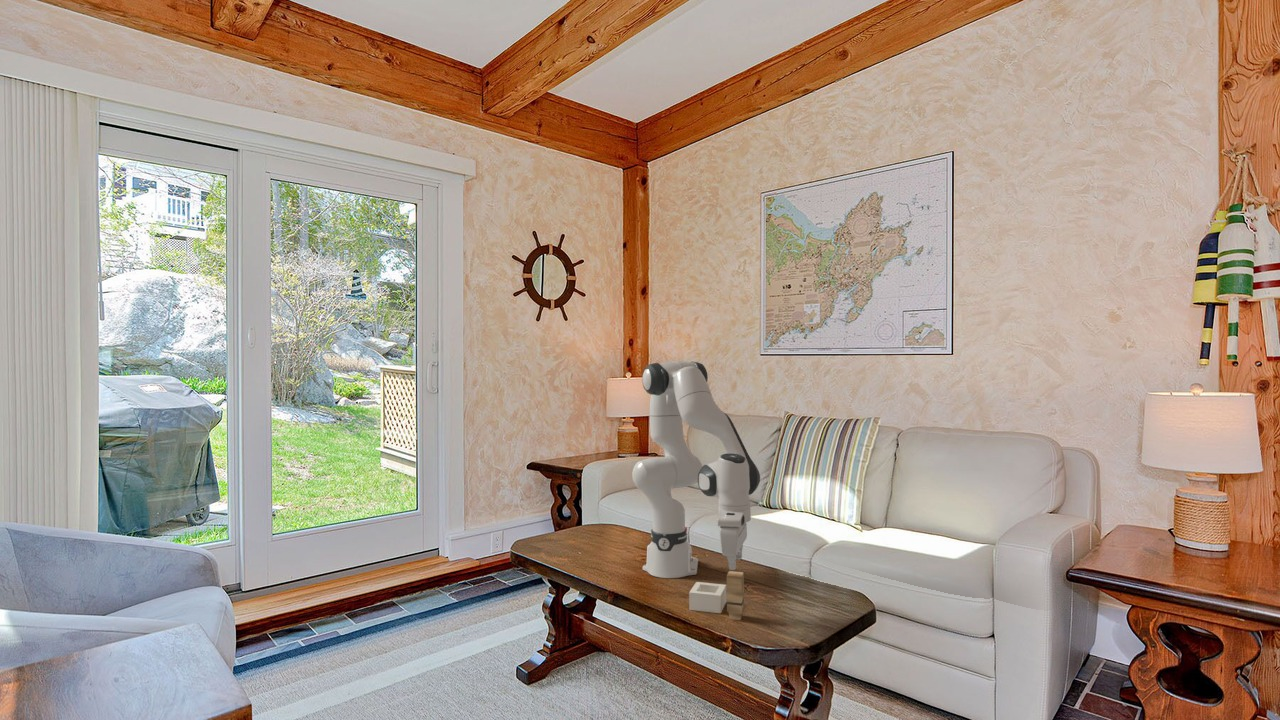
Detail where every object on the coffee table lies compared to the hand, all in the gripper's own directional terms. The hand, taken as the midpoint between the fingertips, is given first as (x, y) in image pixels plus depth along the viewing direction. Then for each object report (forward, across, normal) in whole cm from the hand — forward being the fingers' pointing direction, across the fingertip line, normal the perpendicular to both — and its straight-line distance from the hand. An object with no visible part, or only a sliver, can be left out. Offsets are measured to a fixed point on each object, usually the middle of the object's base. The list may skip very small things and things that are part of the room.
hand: (735, 563), depth 176 cm
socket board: (+15, -6, -10) cm, 19 cm away
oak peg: (+15, 0, 0) cm, 15 cm away
